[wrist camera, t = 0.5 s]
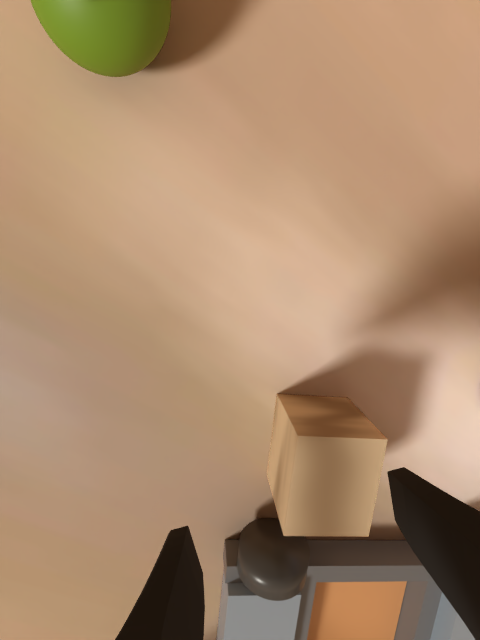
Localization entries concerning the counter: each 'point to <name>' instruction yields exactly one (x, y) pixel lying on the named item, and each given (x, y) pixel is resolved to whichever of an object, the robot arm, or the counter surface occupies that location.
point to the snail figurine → (107, 32)
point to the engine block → (324, 466)
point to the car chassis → (329, 590)
